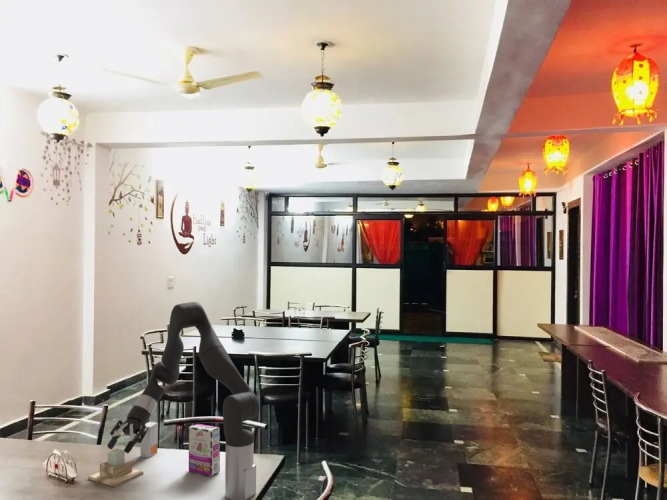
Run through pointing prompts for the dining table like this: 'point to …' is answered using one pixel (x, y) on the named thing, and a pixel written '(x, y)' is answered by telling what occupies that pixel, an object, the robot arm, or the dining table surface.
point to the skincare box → (150, 440)
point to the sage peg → (116, 457)
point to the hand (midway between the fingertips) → (117, 450)
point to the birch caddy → (115, 474)
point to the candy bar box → (204, 449)
